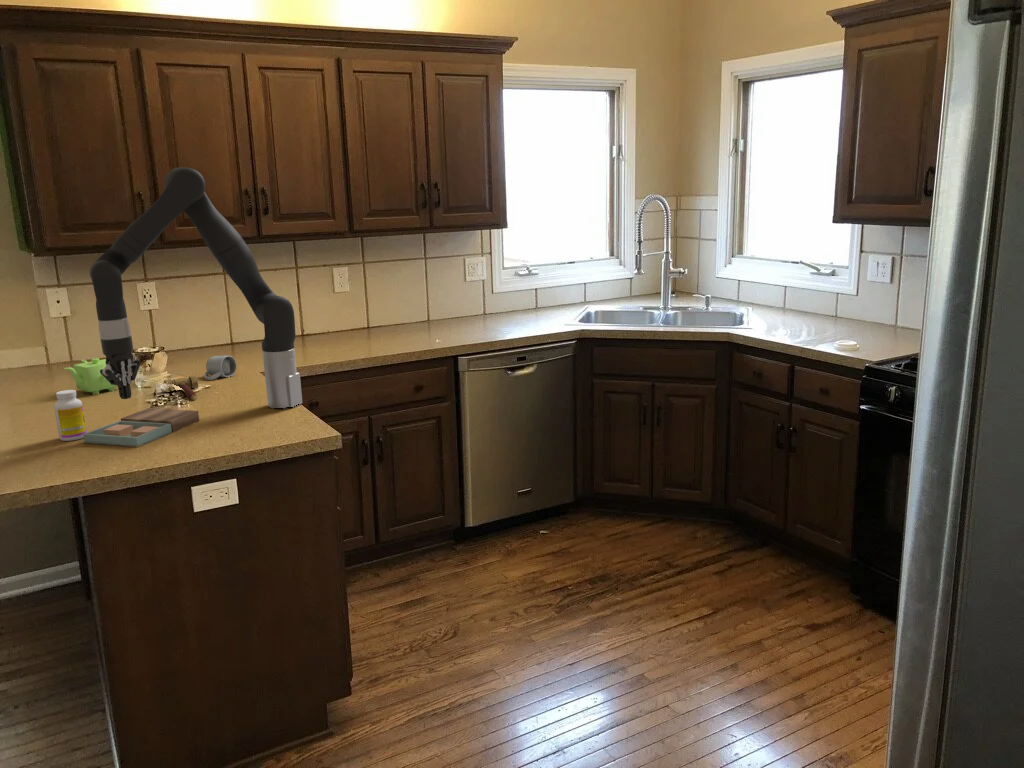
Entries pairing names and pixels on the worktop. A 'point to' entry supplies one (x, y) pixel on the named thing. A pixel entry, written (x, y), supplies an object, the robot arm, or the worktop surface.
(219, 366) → the ceramic mug
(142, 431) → the tile
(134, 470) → the worktop surface
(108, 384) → the kettle
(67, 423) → the supplement bottle
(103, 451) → the worktop surface
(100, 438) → the tray
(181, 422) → the dark brown wooden board
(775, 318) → the worktop surface
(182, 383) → the gavel
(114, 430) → the tile
